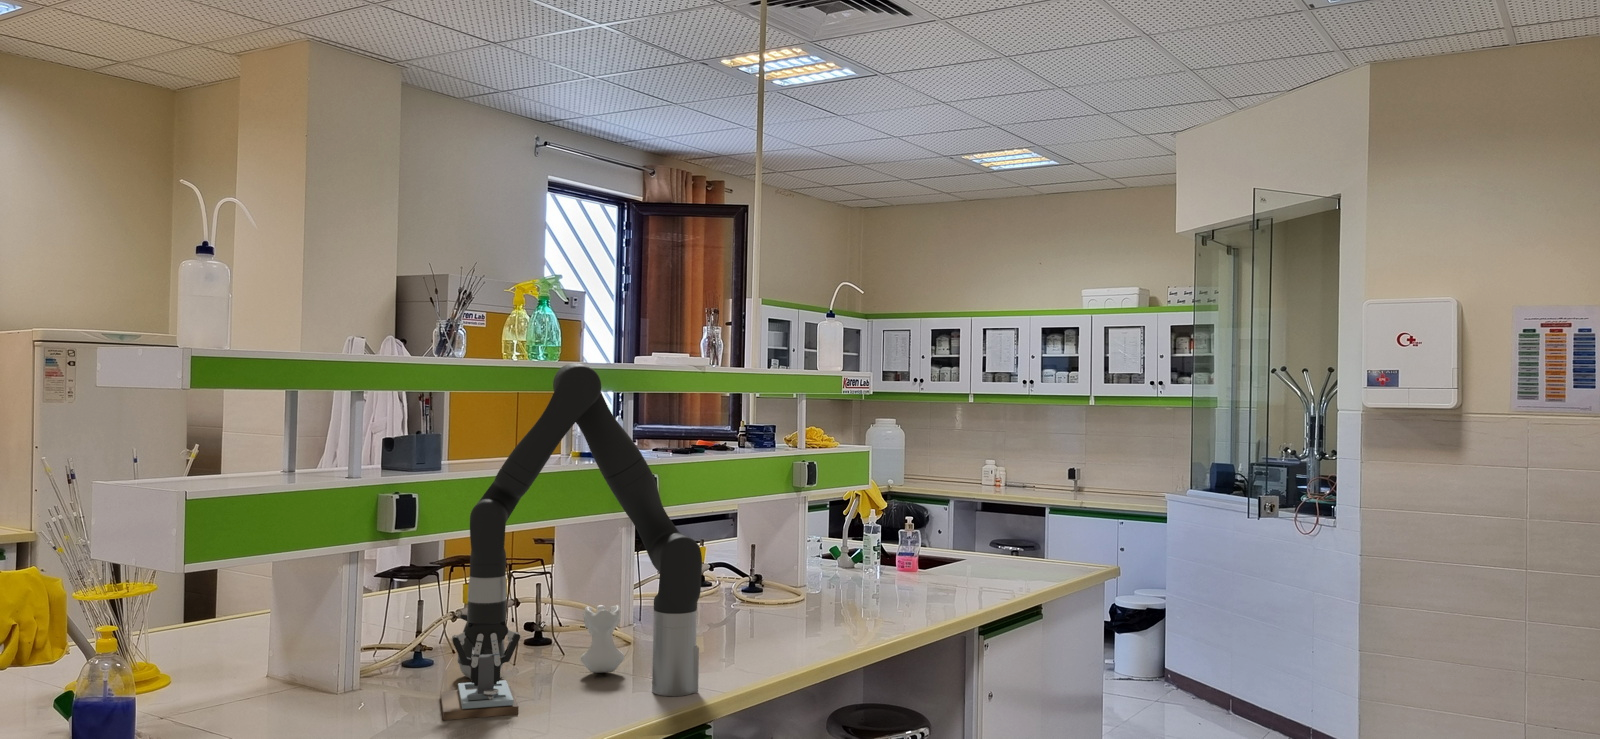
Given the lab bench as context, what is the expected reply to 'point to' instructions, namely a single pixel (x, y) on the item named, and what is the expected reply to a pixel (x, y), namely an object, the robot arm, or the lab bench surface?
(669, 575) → the robot arm
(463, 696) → the keyhole panel
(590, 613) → the white scalloped vase
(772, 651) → the lab bench surface
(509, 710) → the walnut board
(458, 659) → the pump dispenser
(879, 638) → the lab bench surface
